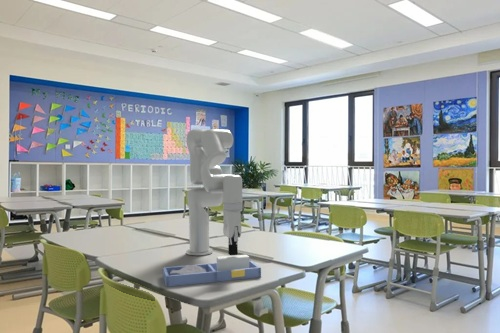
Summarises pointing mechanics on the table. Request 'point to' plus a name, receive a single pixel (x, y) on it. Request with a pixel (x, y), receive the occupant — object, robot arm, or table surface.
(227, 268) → the white rectangular block
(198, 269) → the grey grainy mound
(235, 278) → the blue divided tray
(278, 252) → the table surface
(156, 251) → the table surface
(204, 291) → the table surface
